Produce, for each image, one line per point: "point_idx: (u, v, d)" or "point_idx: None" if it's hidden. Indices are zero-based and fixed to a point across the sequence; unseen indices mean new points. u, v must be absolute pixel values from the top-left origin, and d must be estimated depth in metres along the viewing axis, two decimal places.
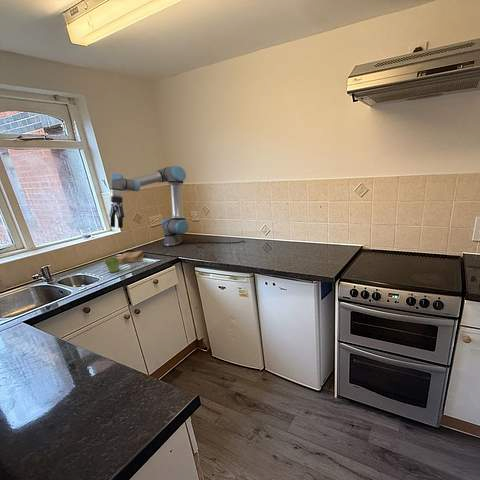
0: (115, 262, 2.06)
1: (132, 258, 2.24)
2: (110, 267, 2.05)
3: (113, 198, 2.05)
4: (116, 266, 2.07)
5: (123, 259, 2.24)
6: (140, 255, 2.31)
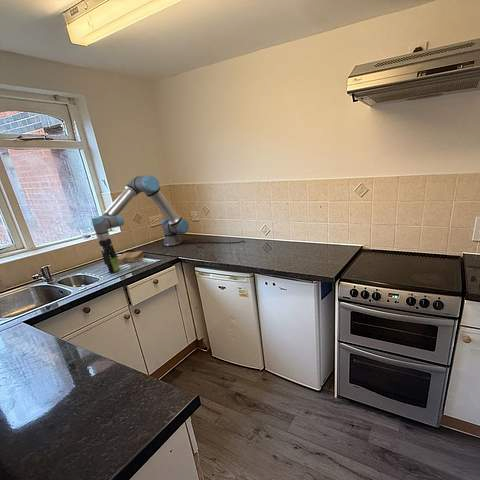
0: (115, 262, 2.06)
1: (132, 258, 2.24)
2: None
3: (99, 243, 2.00)
4: (116, 266, 2.07)
5: (123, 259, 2.24)
6: (140, 255, 2.31)
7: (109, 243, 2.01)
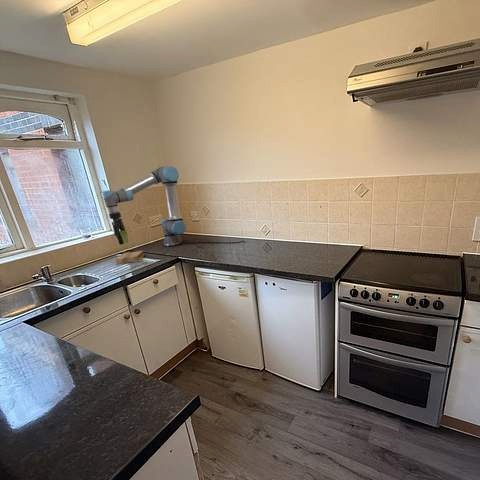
0: (124, 234, 2.19)
1: (132, 258, 2.24)
2: None
3: (109, 215, 2.13)
4: (125, 238, 2.21)
5: (123, 259, 2.24)
6: (140, 255, 2.31)
7: (119, 216, 2.15)
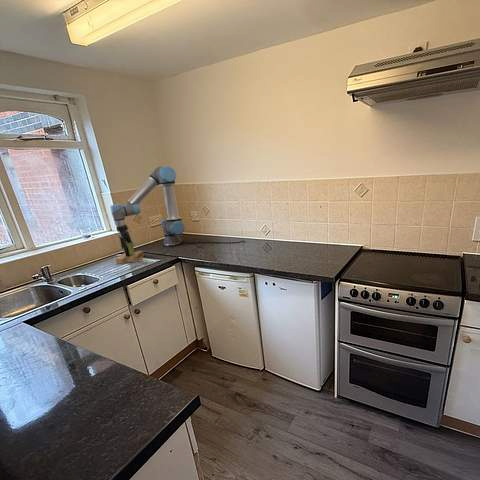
0: (131, 246, 2.27)
1: (132, 258, 2.24)
2: None
3: (116, 228, 2.21)
4: (132, 250, 2.28)
5: (123, 259, 2.24)
6: (140, 255, 2.31)
7: (126, 229, 2.22)
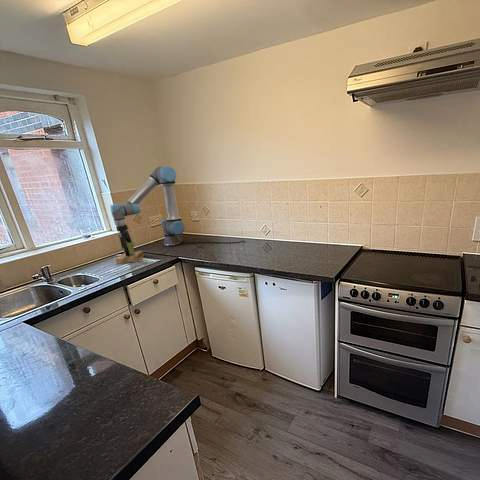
0: (131, 246, 2.27)
1: (132, 258, 2.24)
2: None
3: (116, 228, 2.21)
4: (132, 250, 2.28)
5: (123, 259, 2.24)
6: (140, 255, 2.31)
7: (125, 228, 2.22)
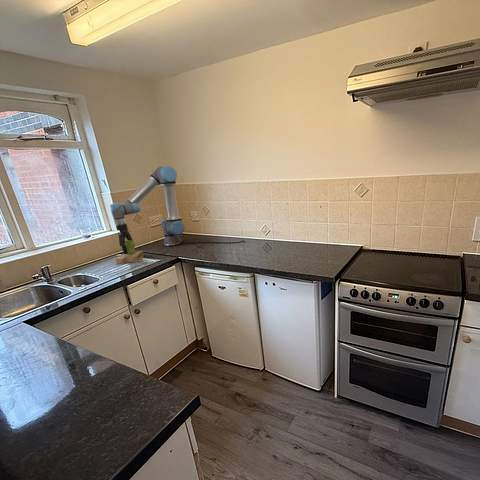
0: (132, 246, 2.29)
1: (132, 258, 2.24)
2: (128, 250, 2.29)
3: (116, 227, 2.21)
4: (133, 249, 2.31)
5: (123, 259, 2.24)
6: (140, 255, 2.31)
7: (125, 228, 2.22)
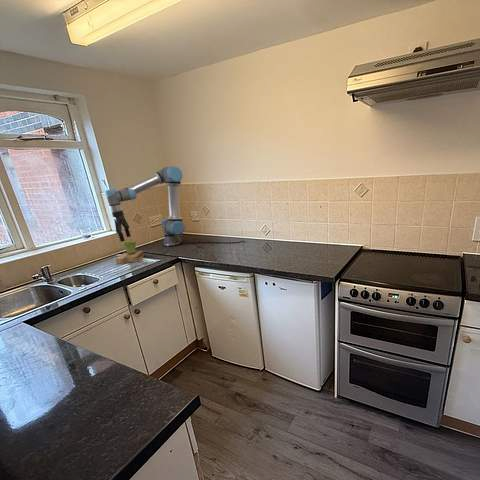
0: (133, 245, 2.31)
1: (132, 258, 2.24)
2: (128, 249, 2.30)
3: (112, 214, 2.17)
4: (133, 248, 2.32)
5: (123, 259, 2.24)
6: (140, 255, 2.31)
7: (121, 214, 2.19)
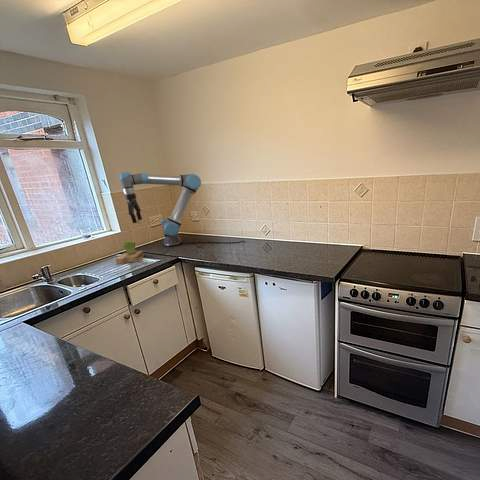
0: (132, 245, 2.30)
1: (132, 258, 2.24)
2: (128, 250, 2.30)
3: (125, 196, 2.26)
4: (133, 249, 2.32)
5: (123, 259, 2.24)
6: (140, 255, 2.31)
7: (134, 197, 2.27)
